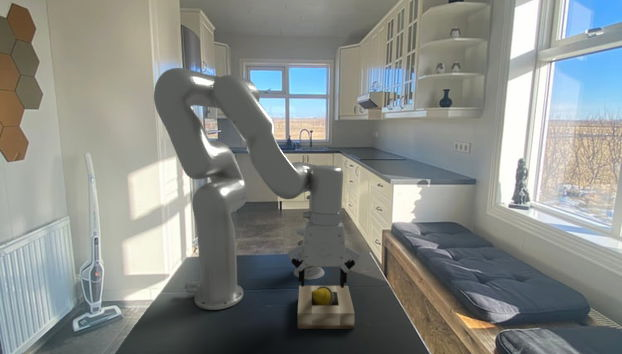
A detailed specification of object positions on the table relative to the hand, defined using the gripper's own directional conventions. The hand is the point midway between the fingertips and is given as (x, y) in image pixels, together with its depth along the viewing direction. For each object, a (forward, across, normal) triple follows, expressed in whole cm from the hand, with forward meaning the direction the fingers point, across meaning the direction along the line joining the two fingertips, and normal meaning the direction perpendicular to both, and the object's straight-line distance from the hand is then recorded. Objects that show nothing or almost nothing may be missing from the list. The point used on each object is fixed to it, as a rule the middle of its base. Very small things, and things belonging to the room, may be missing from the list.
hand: (322, 284), depth 81 cm
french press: (+8, -2, +23) cm, 24 cm away
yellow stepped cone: (+7, 0, 0) cm, 7 cm away
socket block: (+7, +1, 0) cm, 7 cm away
